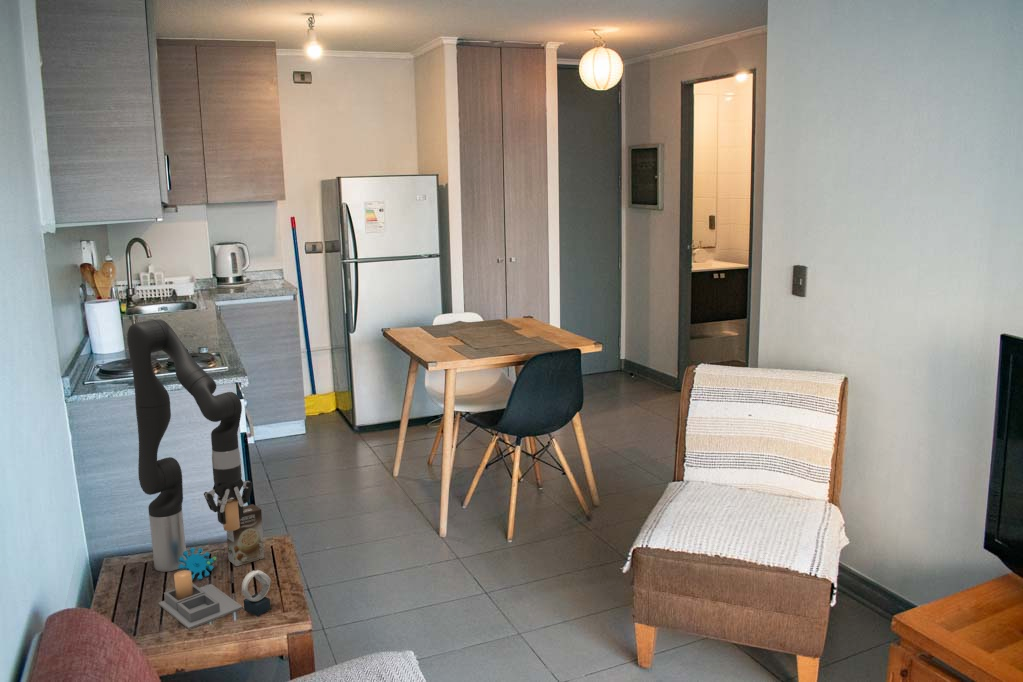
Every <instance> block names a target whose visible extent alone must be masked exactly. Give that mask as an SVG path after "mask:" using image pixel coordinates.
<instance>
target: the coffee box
mask: <svg viewBox="0 0 1023 682" xmlns="http://www.w3.org/2000/svg"><path fill="white" fill-rule="evenodd" d="M243 513H244V515H243V517H242V519H239V522H240V528H239V529H237V530H234V531H226V540H227V556H228V561H229V562H230V563H232V564H233V566H235V567H238V566H242V565H245V564H249V563H252V562H256V561H260V560H262V559H265V550H264V549H265V547H264V534H263V533H264V531H263V518H262V517H263V516H262V509H261V508H260V507H259V506H257V505H255V504H254V503H253V504H252V503H251V504H248V505H243ZM259 559H260V560H259Z"/></svg>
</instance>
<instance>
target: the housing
mask: <svg viewBox="0 0 1023 682" xmlns="http://www.w3.org/2000/svg"><path fill="white" fill-rule="evenodd" d="M192 575H193V574H192V573H191V571H189V570H188V569H184V570H183V569H182V570H180V571H179V570H178V571H177V572H175V573H174V575H173V578H174V588H173V589H170V590H168V591H165V592H163V594H164V600H162V601H160V602H158V606H160V607H161V608H162V609H163V610H165V611H166V612H167V613H168V614H169V615H171V616H172V617H173V618H174V619H176V620H177V621H178V622H179V623H180V624H181V625H183V626H184V627H185V628H186V629H188V631H189V630H192V629H194V628H197V627H200V626H202V625H204V624H208V623H210V622H212V621H214V620H218V619H221V618H222V617H225V616H228V615H230V614H232V613H236V612H238V611H241V610H242V609H243V610H244V605H243V606H242V605H241V604H240V603H239V602H237V601H236V600H234V599H233V598H231V597H230V595H227V594H226V593H224V592H223V591H222V590H220V588H218V587H217V586H215V585H213V584H212V583H210V584H209V583H208V584H205V585H204V586H200V587H199V586H197V585H196V584H194V583H193V580H192Z"/></svg>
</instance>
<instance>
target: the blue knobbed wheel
mask: <svg viewBox="0 0 1023 682" xmlns="http://www.w3.org/2000/svg"><path fill="white" fill-rule="evenodd" d="M195 551H196V548H195V547H190V549H189V551H188V550H186V551H185V552H183V555H184V556H185V557H186V559H187V560H186V561H185V560H184V558H183V557H182V556H181V557H180V559H179V562H183V563H185V564H186V565H185V566H184V565H183V564H180V565H179V569H178V570H183V569H184V570H189V571H191V575H192V581H193V580H194V578H195V575H196V574H198V576H197V577H196V579H197V581H201V580H202V579H203V575H204V577H205V578H206V577H208V576H210V572H211V571H212V570H213V569H214V566H213V564H214V563H215V562H216V560H217V557H216V556H212V558H209V557H210V552H209V551H206V552H205V553H204V554H202V553H203V551H204V549H203V548H202V547H200V548H198V550H197V552H196V553H194V552H195ZM189 552H190V555H188V554H189ZM207 569H208V570H207ZM202 572H204V574H203V573H202ZM202 574H203V575H202Z"/></svg>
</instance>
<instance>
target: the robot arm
mask: <svg viewBox="0 0 1023 682" xmlns="http://www.w3.org/2000/svg"><path fill="white" fill-rule="evenodd" d="M127 329H128V330H127V333H126V336H127V337H126V338H127V339H126V340H127V348H128V354H129V360H130V364H131V370H132V375H133V376H132V377H133V386H134V396H135V397H134V400H135V413H136V414H135V415H136V416H135V417H136V422H137V424H136V425H137V435H138V467H137V469H138V482H139V485H140V488H141V490H142V491H143V492H144V494H146V495H149V496H151V495H155V494H158V496H156V497H155V498H154V499H153V500H152V501H151V502H150V503H149V504H148V507H147V508H148V518H149V526H150V527H149V528H150V535H151V536H150V537H151V546H152V547H151V548H152V556H153V567H154V570H155V571H158V572H162V573H163V572H165V573H166V572H172V571H177V570H180V569H179V565H180V564H183V565H184V566H186V564H185V563H183V562H179V559H180V557H181V556H182V557H183V558H184V560H185V561H186V560H187V559H186V557H185V556H184V555H183V552H185V551H187V546H186V536H185V524H184V517H183V515H184V514H183V502H184V490H183V489H184V488H183V487H184V486H183V472H182V469H181V464H180V463H179V462H178V460H177V459H176V458H174V457H173V456H172V457H171V456H169V457H165V458H160V459H158V452H159V447H160V444H161V442H162V439H163V437H164V435H165V433H166V432H167V429H168V426H169V424H170V422H171V418H172V416H171V415H172V411H171V398H170V394H169V392H168V391H167V388H166V387H165V386H164V384H163V383H162V382H161V381H160V379H159V378H158V376H157V375H156V374H155V372H154V368H153V363H152V356H151V355H152V354H153V353H157V352H161V351H163V353H166V355H168V356H169V357H170V358H171V360H172V361H173V364H174V370H175V375H176V378H177V380H178V382H179V384H180V385H181V386H182V387H183V388H184V389H185V390H186V391H187V392H188V393H189V394H190V395H191V396H192V397H193V399H194V400H195V402H196V403H195V404H197V406H198V408H199V410H200V412H201V414H202V415H203V417H204V418H205V419H206V420H208V421H210V422H213V423H218V422H220V423H219V424H218V426H216V427H215V428H214V429H212V431H211V432H210V440H211V463H212V464H211V466H212V477H213V482H214V483H213V487H212V489H211V490H209V491H205V492H204V493H203V496H204V499H205V501H206V503H207V506H208V508H209V510H210V511H212V512H213V513H216V514H217V521H218V523H220V524H221V525H224V524H226V519H225V512H224V508H225V505H226V503H227V500H228V499H230V498H234V499H236V500H237V501H238V509H239V519H242V517H243V515H244V513H243V506H245V504H248V503H249V502H250V498H251V493H252V490H253V482H252V481H250V480H247V479H246V480H243V479H242V478H243V477H242V461H241V460H242V459H241V452H240V447H239V436H238V435H239V434H238V432H239V428H240V422H241V417H242V412H243V410H242V409H243V405H242V401H241V399H240V397H239V395H238V394H237V393H235V392H233V391H227V392H222V393H220V394H217V395H214V393H215V392H216V389H217V382H216V381H215V380H214V379H213V378H212V377H211V376H210V374H208V373H207V372H206V371H205V370H204V369H203V368H202V367H201V366H200V365H199V363H198V362H197V361H196V360H195V359H194V358H193V357H192V355H191V353H190V352H189V351H188V350H187V347H185V345H184V344H183V342H182V341H181V340H180V337H179V336H178V335H177V334H176V332H175V330H174V329H173V328H172V327H171V326H170V325H169V323H168V322H166V321H165V320H163V319H158V318H157V319H150V320H145V321H139V322H135V323H132V324H131V325H130V326H129V327H128V328H127ZM241 490H242V494H241ZM215 494H216V495H217V498H216V501H215Z"/></svg>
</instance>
